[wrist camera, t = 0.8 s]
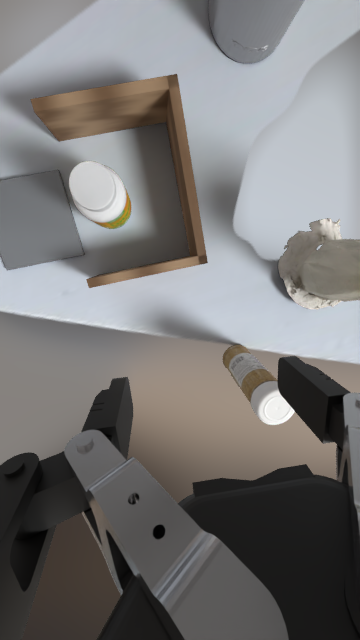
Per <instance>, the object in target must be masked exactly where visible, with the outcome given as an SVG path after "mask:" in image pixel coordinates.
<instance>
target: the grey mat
mask: <svg viewBox="0 0 360 640" xmlns="http://www.w3.org/2000/svg"><path fill="white" fill-rule="evenodd" d="M0 254H1V257H2V259H3V262H4V264H5V267H6V269H7V270H12V269H16V268H21V267H26V266H31V265H36V264H41V263H46V262H51V261H56V260H60V259H65V258H70V257H75V256H80V255H85V254H84V251H83V248H82V244H81V241H80V238H79V234H78V231H77V228H76V224H75V221H74V218H73V215H72V211H71V208H70V205H69V201H68V198H67V195H66V191H65V188H64V185H63V182H62V178H61V175H60V172H59V170H54V171H49V172H43V173H38V174H32V175H27V176H22V177H16V178H11V179H6V180H0Z"/></svg>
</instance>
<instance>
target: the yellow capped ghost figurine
mask: <svg viewBox="0 0 360 640" xmlns="http://www.w3.org/2000/svg"><path fill="white" fill-rule="evenodd" d="M339 222H340V219H339V220H338V221H337V222H332V220H331V219H328V218H327V219H322V220H318V221H314V222H311V223H310V224H309V225H310V227H311V228H310V229H311V230H312V231H309V232H304V231H298V232H299V233H297V234H295V235H294V236H293V237H291V238H290V239H289V240H288V242H287V244H288V245H286V246H285V248H287V247H288V248H287V250H286V251H285V252H284V254H283V256H281V257H280V259H279V263H278V270H279V274H280V277H281V278H283V280H284V283H285V286H286V288H287V292H288V293H289V295H290V297H291V298H292V299H293V300H294V301H295V302H296V303H297V304H298V305H300V306H302V307H305V308H308V309H316V310H317V309H320V308H324V307H327V306H332V307H333V306H334V305H337V304H338V303H339V302H341V301H354V300H360V240H354V239H342V237H341V234H340V231H339V229H340V225H338V224H339ZM322 244H323V245H322ZM319 245H322V246H321V248H320V249H319V250H316V248H317V247H318V246H319ZM285 248H284V249H285Z"/></svg>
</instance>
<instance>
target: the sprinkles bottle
mask: <svg viewBox="0 0 360 640" xmlns="http://www.w3.org/2000/svg"><path fill="white" fill-rule="evenodd" d="M223 363H224V365H225V367H226V368H227V369H228V370H229V371H230V373H231V376H232V377H233V379H234V380H235V382H236V383H237V385H238V386H239V387H240V388H241V390H242V391H243V393H244V394H245V396H246V397H247V398H248V400H249V402H250V403H251V406H252V409H253V411H254V412H255V413H256V415H257V416H258V418H259V419H260V420H261V421H262V422H264V423H266V424H269V425H278V424H281V423H283V422H285V421H287V420H288V419H289V418H290V417H291V416H292V415H293V413H294V412H295V411H294V410H293V408H292V407H291V406H290V405H289V404H288V403H287V401H286V400H285V399H284V398H283V397H282V396H281V394H280V392H279V389H278V380H277V379H276V378H275V377H274V376H273V375H272V374H271V373H270V372H269V371H268V370H267V369H266V368H265V367H264V366H263V365H262V364H261V363H260V362H259V361H258V360H257V359H256V358H255V357H254V356H253V355H252V354H251V353H250V352H249V351H248V349H247V348H246V347H244V346H242V345H234V346H231V347H229V348H228V349H227V350H226V352H225V353H224V355H223Z"/></svg>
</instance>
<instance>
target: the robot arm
mask: <svg viewBox="0 0 360 640" xmlns="http://www.w3.org/2000/svg"><path fill="white" fill-rule="evenodd" d="M303 2H304V0H209V8H208V12H209V22H210V26H211V31H212V34H213V36H214V38H215V41H216V42H217V44H218V45H219V47H220V48H221V50H222V51H223V52H224V53H225V54H226V55H227V56H228V57H230V58H231V59H233V60H235V61H237V62H240V63H247V64H252V63H256V62H259V61H261V60H263V59H265V58H266V57H268V56H269V55H270V54H271V53H272V52H273V51H274V50H275V48H276V47H277V46H278V44H279V43H280V41H281V39H282V37H283V36H284V34H285V32H286V31H287V29H288V27H289V26H290V24H291V22H292V20H293V19H294V17H295V15H296V14H297V12H298V11H299V9H300V7H301V5H302V4H303ZM278 389H279V392H280V394H281V396H282V397H283V398H284V399H285V400H286V401H287V403H288V404H289V405H290V406H291V407H292V408H293V410H294V411H295V412H296V413H297V414H298V415H299V416H300V418H301V419H302V420H303V421H304V422H305V423H306V424H307V426H308V427H309V428H310V429H311V430H312V432H313V433H314V434H315V435H316V436H317V437H318V438H319V440H320V441H321V442H322V443H323V444H324V443H330V442H335V443H336V444H337V448H336V475H337V476H336V480H334V479H332V478H328V477H324V476H320V475H313V473H312V472H311V471H310V469H309V468H308V466H307V465H306V464H305V465H299V466H293V467H287V468H281V469H277V470H275V471H273V472H271V473H269V474H267V475H265V476H263V477H261V478H258V479H256V480H253V481H249V480H237V479H226V478H220V479H214V480H207V481H201V482H194V483H193V493H194V494H192V495H190V496H188V497H186V498H185V499H183V500H182V501H180V502H179V503H177V502H176V501H175V500H174V499H173V498H172V497H171V496H170V495H169V494H168V493H167V492H166V491H165V490H164V489H163V488H162V486H161V485H160V484H159V483H158V482H157V481H156V480H155V479H154V478H153V477H152V476H151V475H150V474H149V472H148V471H147V470H146V469H145V468H144V467H143V466H142V465H141V464H140V463H139V462H138V461H137V460H136V459H135V458H133V457H131V458H130V459H128V460H127V456H128V448H129V441H130V434H131V427H132V419H133V403H132V398H131V391H130V386H129V380H128V377H123V378H116V379H112V381H111V385H110V388H109V389H107V390H102V391H101V392H100V393H99V394H98V395H97V396H96V397H95V400H94V402H93V406H92V407H91V410H90V412H89V414H88V417H87V419H86V422H85V424H84V427H83V429H82V432H81V433H79V434H77V435H76V436H74V437H73V438H72V439H71V440H70V441H69V442H68V443H67V445H66V447H65V450H64V451H63V452H62V453H59V454H57V455H54V456H52V457H49V458H47V459H44V460H41V461H39V458H38V456H37V455H36V454H34V453H23V454H19V455H17V456H14V457H12V458H11V459H9V460H7V461H6V462H4V463H3V464H2V465H0V640H22V637H23V633H24V630H25V627H26V624H27V620H28V617H29V613H30V610H31V607H32V603H33V600H34V597H35V594H36V591H37V587H38V584H39V581H40V578H41V574H42V571H43V568H44V564H45V561H46V558H47V554H48V551H49V548H50V545H51V541H52V538H53V535H54V532H55V528H56V525H57V524H59V523H61V522H63V521H64V520H67V519H69V518H71V517H73V516H75V515H77V514H79V513H81V512H82V514H83V516H84V518H85V520H86V522H87V523H88V526H89V527H90V529H91V531H92V533H93V535H94V537H95V539H96V541H97V543H98V545H99V547H100V549H101V551H102V553H103V555H104V557H105V560H106V562H107V565H108V567H109V570H110V572H111V575H112V577H113V579H114V581H115V584H116V586H117V588H118V590H119V592H120V594H121V597H120V599H119V600H118V602H117V604H116V606H115V607H114V609H113V611H112V613H111V615H110V616H109V618H108V620H107V622H106V623H105V625H104V627H103V629H102V631H101V633H100V634H99V636H98V638H97V639H96V640H360V393H350V392H349V391H348V390H346V389H345V388H344V387H342V386H341V385H340V384H338V383H337V382H335V381H334V380H333V379H331V378H330V377H328V376H327V375H325V374H324V373H323V372H322V371H320V370H319V369H318V368H316V367H313V366H311V365H309V364H305V363H304V362H303V361H301V360H300V359H299V358H297V357H296V356H290V357H282V358H280V359H279V362H278Z"/></svg>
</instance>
